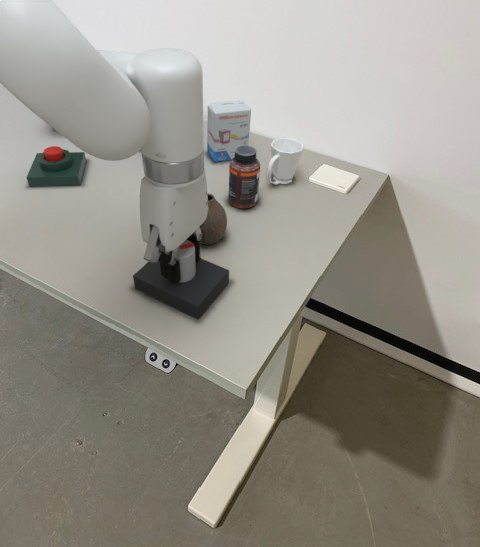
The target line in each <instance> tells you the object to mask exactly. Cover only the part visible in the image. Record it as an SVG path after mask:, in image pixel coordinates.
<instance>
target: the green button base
mask: <svg viewBox="0 0 480 547" xmlns="http://www.w3.org/2000/svg"><path fill="white" fill-rule="evenodd" d="M62 151H63V155H64V158H63V159H62V160H59V161H47V160H46V158H45V155H44V151H42V152H36V154H35V156H34V159H33V161H32V163H31V166H30V169H29V170H28V173H27V175H26V177H25V178H26V180H27V183H28V186H29V187H30V188H32V187H34V188H35V187H36V188H37V187H62V186H63V187H64V186H81V184H82V181H83V180H82V179H83V175H84V172H85V168H86V164H87V156H86V152H84V151H77V152H76V151H71V152H70V151H69V150H68V149H64V148H62Z"/></svg>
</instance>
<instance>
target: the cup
mask: <svg viewBox="0 0 480 547" xmlns="http://www.w3.org/2000/svg"><path fill="white" fill-rule="evenodd" d="M304 145H305V144H303V143H302V142H301V141H299V140H298V139H296V138H290V137H279V138H276V139H275V138H274V139H273V140H272V141H271V144H270V156H271V157H270V158H271V159H270V161H269V164H268V166H267V169H266V176H265V177H266V180H267V182H268V183H270V184H273V185H279V184H281V185H288V184H291V183H292V182H293V178H294V175H295V173H296V171H297V168H298V165H299V161H300V159H301V155H302V152H303V148H304V147H305V146H304ZM271 174H272V175H273V177H272V180H273V181H272V180H271Z"/></svg>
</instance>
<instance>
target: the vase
mask: <svg viewBox="0 0 480 547" xmlns="http://www.w3.org/2000/svg"><path fill="white" fill-rule="evenodd" d="M207 194H208V207H209V210H208V212H207V218H206V220H205V221H204V224H203V226H202V228H201V233H202V237H201V239H200V240H199V242H200V244H202V245H213V244H215V243H218V242H220V240H222V238H224V236H225V233H226V231H227V227H228V216H227V212H226V210H225V208H224V206H222V204H221V203H220V202H219V201H218V200H217V199H216V198H215V196H214V194H212V193H208V192H207Z"/></svg>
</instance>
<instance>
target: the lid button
mask: <svg viewBox="0 0 480 547" xmlns="http://www.w3.org/2000/svg"><path fill="white" fill-rule="evenodd" d="M62 149H63V148H62V147H60V146H59V145H58V146H57V145H56V146H54V145H53V146H48V147H46V148H44V149H43V152H44V155H45V158H46V160H47V161H59V160H62V159H63V158H64V155H63V151H62Z"/></svg>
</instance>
